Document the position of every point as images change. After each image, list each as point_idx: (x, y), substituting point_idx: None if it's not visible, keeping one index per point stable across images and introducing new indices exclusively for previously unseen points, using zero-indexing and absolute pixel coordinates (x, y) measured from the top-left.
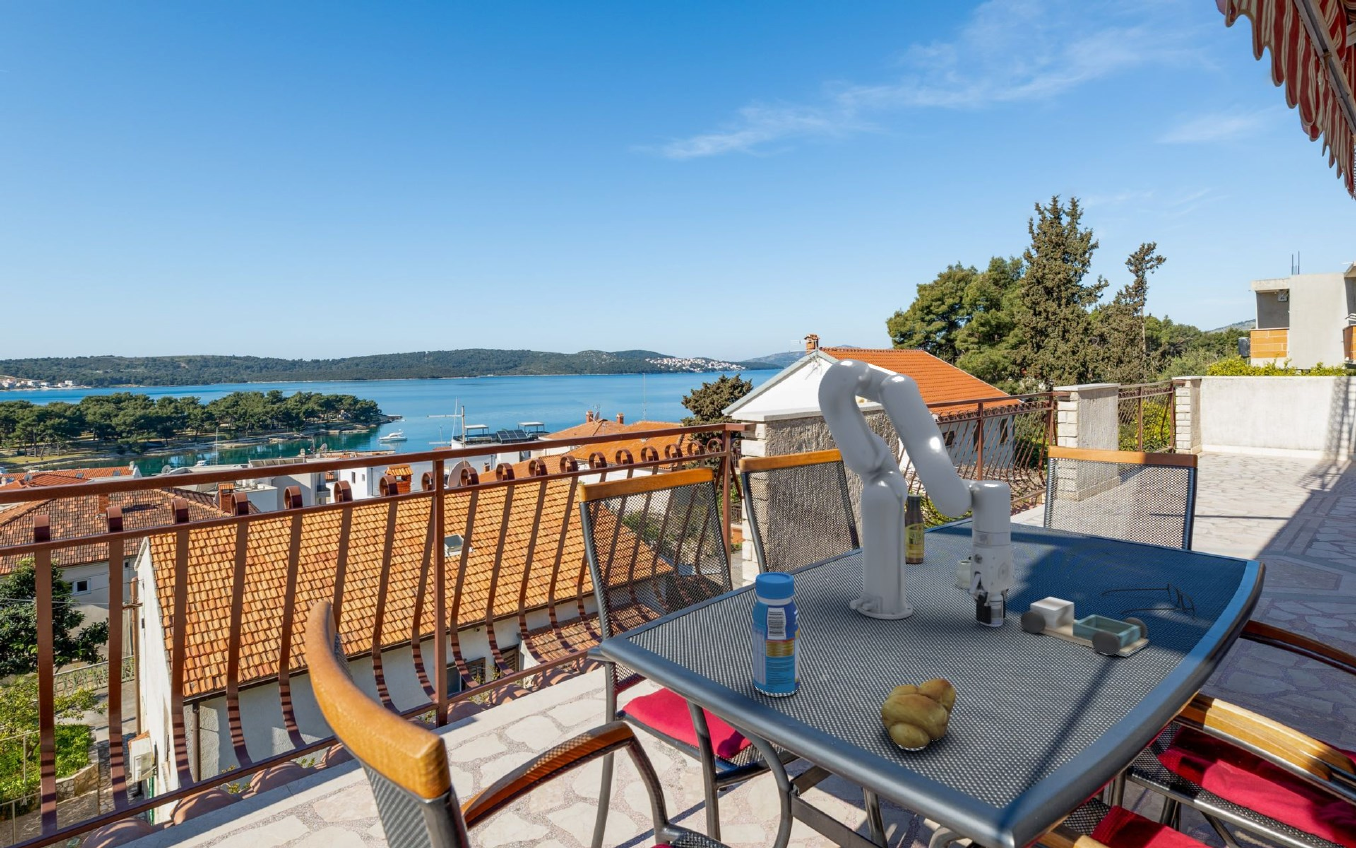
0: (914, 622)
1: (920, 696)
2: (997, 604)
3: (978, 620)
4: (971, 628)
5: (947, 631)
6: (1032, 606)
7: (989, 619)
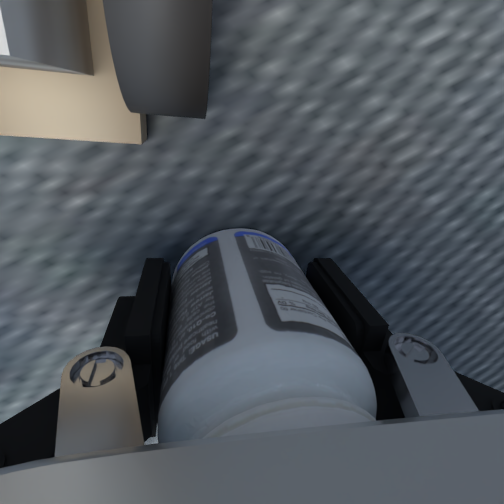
0: None
1: None
2: (316, 315)
3: None
4: (373, 297)
5: (467, 330)
6: (16, 22)
7: (338, 273)
